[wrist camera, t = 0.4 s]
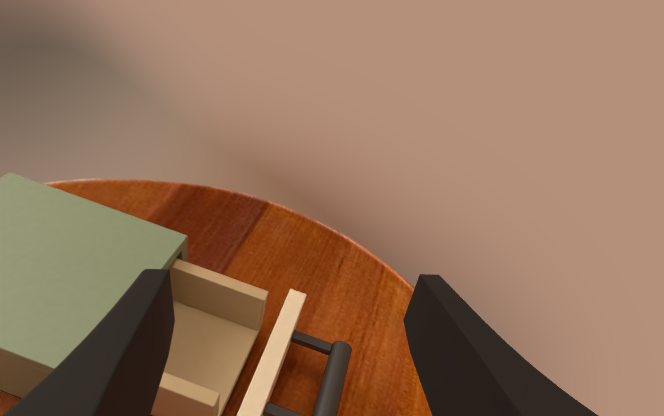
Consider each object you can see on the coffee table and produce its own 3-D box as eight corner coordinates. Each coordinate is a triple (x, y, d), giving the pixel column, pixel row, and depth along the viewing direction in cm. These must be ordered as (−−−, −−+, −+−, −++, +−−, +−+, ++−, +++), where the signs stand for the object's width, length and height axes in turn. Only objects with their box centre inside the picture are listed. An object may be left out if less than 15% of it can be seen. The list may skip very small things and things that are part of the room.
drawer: (344, 351, 30) (363, 315, 27) (310, 491, 23) (330, 465, 20) (146, 279, 31) (140, 234, 28) (53, 393, 24) (30, 351, 21)
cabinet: (188, 294, 32) (187, 235, 27) (99, 428, 24) (76, 377, 19) (36, 238, 33) (10, 171, 28) (-102, 351, 24) (-171, 283, 20)
